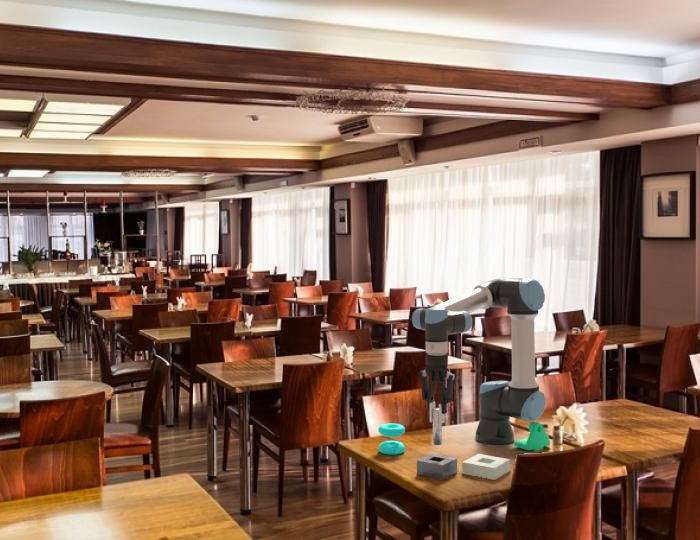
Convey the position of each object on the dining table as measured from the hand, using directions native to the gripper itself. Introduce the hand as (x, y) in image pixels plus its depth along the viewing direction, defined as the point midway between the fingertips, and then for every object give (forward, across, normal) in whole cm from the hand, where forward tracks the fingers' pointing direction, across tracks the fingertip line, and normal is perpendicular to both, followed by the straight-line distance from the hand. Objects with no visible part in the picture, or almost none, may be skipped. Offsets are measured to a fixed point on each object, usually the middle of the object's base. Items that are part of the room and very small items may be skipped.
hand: (437, 421), depth 254 cm
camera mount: (+19, +13, +48) cm, 53 cm away
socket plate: (+18, +13, +11) cm, 24 cm away
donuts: (+18, -27, +13) cm, 35 cm away
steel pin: (+8, 0, 0) cm, 8 cm away
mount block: (+18, 0, 0) cm, 18 cm away
